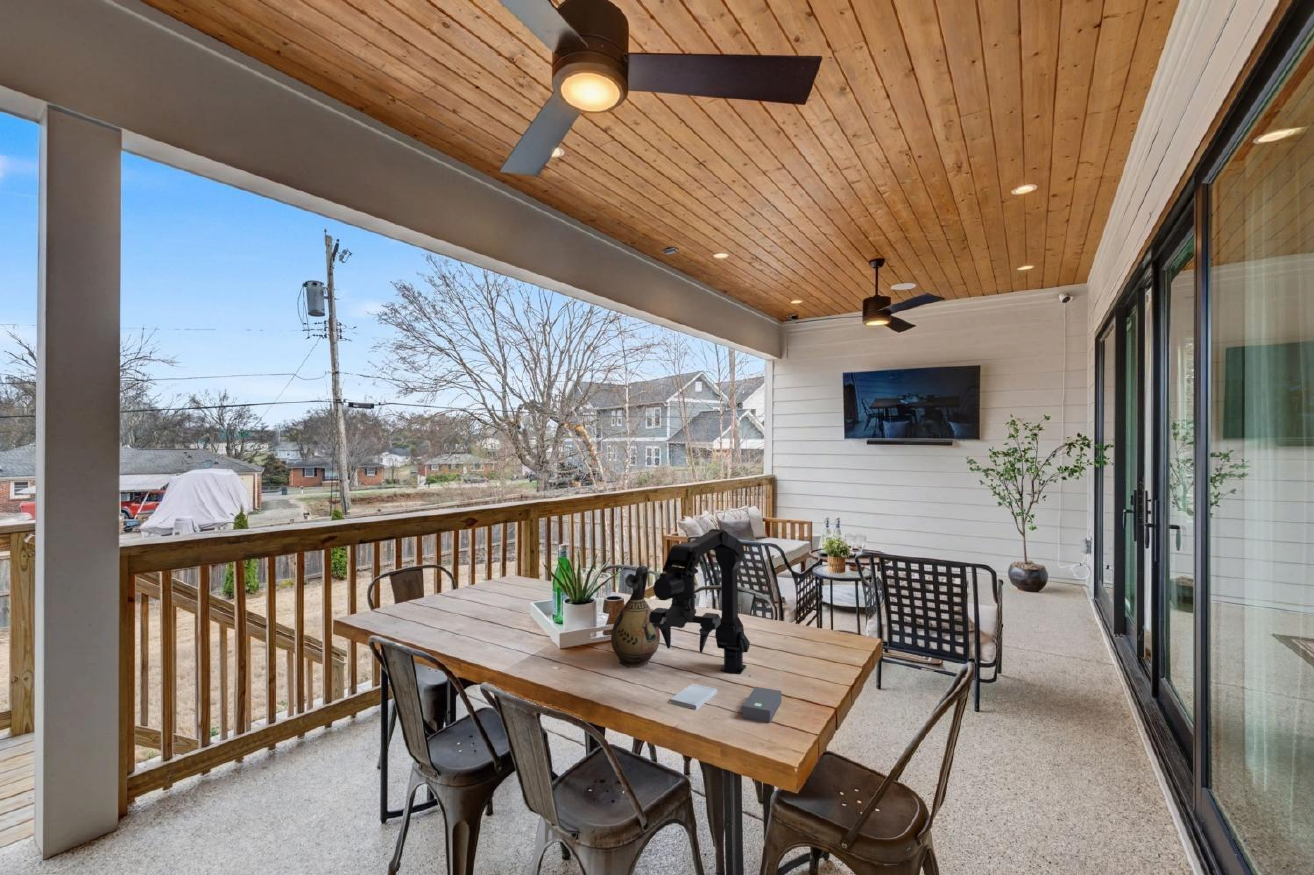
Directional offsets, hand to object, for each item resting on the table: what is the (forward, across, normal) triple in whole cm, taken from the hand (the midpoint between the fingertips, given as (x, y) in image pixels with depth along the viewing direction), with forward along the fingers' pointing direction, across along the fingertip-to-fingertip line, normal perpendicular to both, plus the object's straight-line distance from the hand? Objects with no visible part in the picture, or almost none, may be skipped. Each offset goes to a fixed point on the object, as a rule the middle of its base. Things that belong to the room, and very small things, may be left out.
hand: (684, 650), depth 159 cm
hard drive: (+14, +2, +2) cm, 14 cm away
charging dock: (+13, +20, +2) cm, 25 cm away
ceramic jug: (+14, -24, +21) cm, 35 cm away
